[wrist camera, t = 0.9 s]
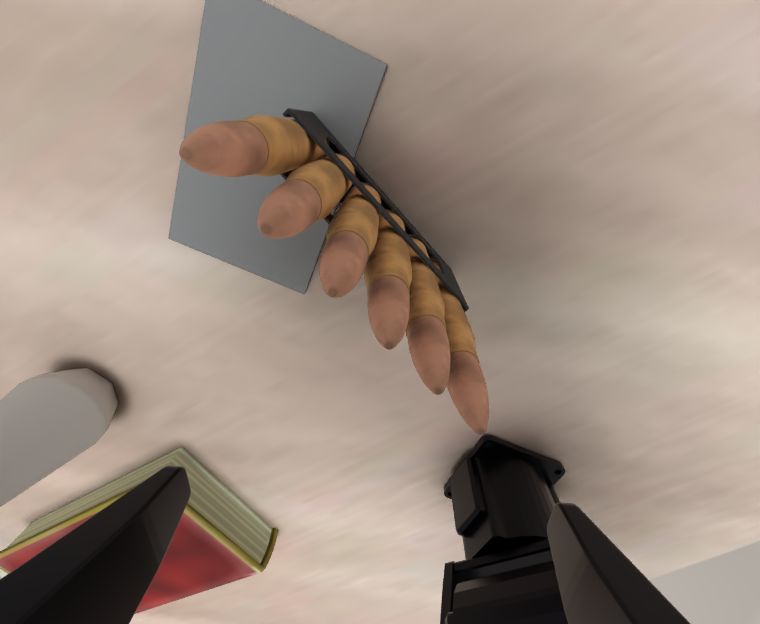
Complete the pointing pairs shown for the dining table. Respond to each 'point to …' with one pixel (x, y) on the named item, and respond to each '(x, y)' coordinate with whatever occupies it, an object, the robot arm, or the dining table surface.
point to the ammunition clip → (354, 242)
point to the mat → (271, 98)
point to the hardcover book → (190, 541)
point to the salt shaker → (50, 425)
